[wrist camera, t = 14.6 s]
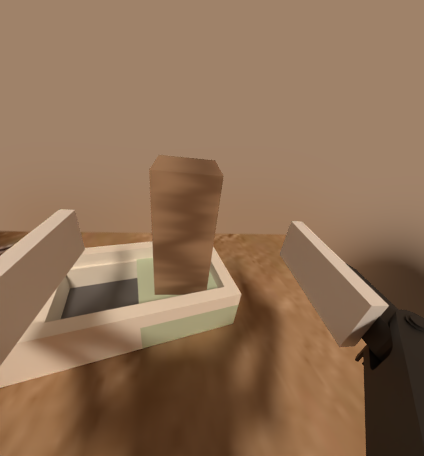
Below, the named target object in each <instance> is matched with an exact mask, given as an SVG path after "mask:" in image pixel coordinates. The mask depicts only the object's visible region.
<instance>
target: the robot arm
mask: <svg viewBox="0 0 424 456" xmlns="http://www.w3.org/2000/svg"><path fill="white" fill-rule="evenodd" d="M84 250H85V248H84V244H83V240H82V236H81V232H80V228H79V224H78V221H77V217H76V213H75V210H64V209H59V210H58V211H57V212H56V213H54V214H53V215H52V216H50V217H49V218H48V219H47V220H46V221H44V222H43V223H41V224H40V225H39V226H38V227H36V228H35V229H34V230H33V231H31V232H30V233H29V234H27V235H26V236H25V237H24V238H22V239H21V240H20V241H18V242H17V243H16V244H15V245H13V246H12V247H11V248H9V249H8V250H7V251H6V252H4V253H3V254H2V255H1V256H0V366H1V364H2V363H3V362H4V360H5V359H6V357H7V356H8V355H9V353H10V352H11V351H12V349H13V348H14V346H15V345H16V344H17V342H18V341H19V340H20V338H21V337H22V335H23V334H24V333H25V331H26V330H27V329H28V327H29V326H30V324H31V323H32V322H33V320H34V319H35V318H36V316H37V315H38V313H39V312H40V311H41V309H42V308H43V307H44V305H45V304H46V302H47V301H48V300H49V298H50V297H51V296H52V294H53V293H54V291H55V290H56V289H57V287H58V286H59V285H60V283H61V282H62V280H63V279H64V278H65V276H66V275H67V274H68V272H69V271H70V269H71V268H72V267H73V265H74V264H75V263H76V261H77V260H78V258H79V257H80V256H81V254H82V253H83V252H84ZM280 256H281V257H282V259H283V260H284V262H285V263H286V265H287V266H288V268H289V269H290V271H291V273H292V274H293V276H294V277H295V279H296V280H297V282H298V283H299V285H300V286H301V288H302V290H303V291H304V293H305V294H306V296H307V297H308V299H309V300H310V302H311V303H312V305H313V307H314V308H315V310H316V311H317V313H318V314H319V316H320V317H321V319H322V320H323V322H324V324H325V325H326V327H327V328H328V330H329V331H330V333H331V334H332V336H333V337H334V339H335V341H336V342H337V344H338V345H339V347H349V346H355V345H356V344H357V343H358V342H359V341H360V339H361V338H362V339H363V340H364V341H365V343H366V344H367V345H366V346H365V347H364V348H363V349H362V351H361V352H360V353H359V354H358V355H357V356H356V359H355V360H356V361H357V362H358V361H359V360H360V359H361V358H362V357H364V362H363V363H362V364H363V365H364V391H365V428H366V456H424V318H422V317H421V316H419V315H417V314H415V313H413V312H410V311H407V310H398V309H397V308H396V307H395V306H394V305H393V304H392V303H391V302H390V301H389V300H388V299H387V298H386V297H385V296H383V295H382V294H381V293H380V292H379V291H378V290H377V289H376V288H375V287H374V286H372V285H371V283H370V282H369V281H368V280H366V279H364V277H363V276H362V275H361V274H360V273H359V272H358V271H357V270H356V269H353V268H352V267H351V266H349V265H348V264H346V263H344V262H343V261H342V260H341V259H340V258H339V257H338V256H337V255H336V254H335V253H334V252H333V251H332V250H331V249H330V248H329V247H328V246H327V245H326V244H325V243H324V242H323V241H322V240H320V239H319V238H318V237H317V236H316V235H315V234H314V233H313V232H312V231H311V230H310V229H309V228H308V227H307V226H306V225H305V224H304V223H303V222H297V221H291V224H290V227H289V229H288V232H287V235H286V238H285V241H284V243H283V246H282V249H281V252H280Z"/></svg>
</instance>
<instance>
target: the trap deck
mask: <svg viewBox="0 0 424 456" xmlns="http://www.w3.org/2000/svg"><path fill="white" fill-rule="evenodd" d="M240 297H241V293H240V291H239V289H238V288H237V286H236V284H235V282H234V281H233V279H232V277H231V276H230V274H229V272H228V271H227V269H226V267H225V266H224V264H223V262H222V260H221V259H220V257H219V255H218V254H217V252H216V250H215V249H214V247H213V251H212V258H211V265H210V271H209V278H208V285H207V290H206V291H201V292H196V293H191V294H186V295H155V292H154V268H153V244H152V242H142V243H132V244H122V245H112V246H101V247H91V248H85V250H84V252H83V253H82V254H81V256H80V257H79V258H78V260H77V261H76V263H75V264H74V265H73V267H72V268H71V269H70V271H69V272H68V274H67V275H66V276H65V278H64V279H63V280H62V282H61V283H60V285H59V286H58V287H57V289H56V290H55V291H54V293H53V294H52V296H51V297H50V298H49V300H48V301H47V302H46V304H45V305H44V307H43V308H42V309H41V311H40V312H39V313H38V315H37V316H36V318H35V319H34V320H33V322H32V323H31V324H30V326H29V327H28V329H27V330H26V331H25V333H24V334H23V335H22V337H21V338H20V340H19V341H18V342H17V344H16V345H15V346H14V348H13V349H12V351H11V352H10V353H9V355H8V356H7V357H6V359H5V360H4V362H3V363H2V364H1V366H0V388H1V387H5V386H9V385H12V384H16V383H20V382H23V381H27V380H30V379H34V378H38V377H41V376H45V375H49V374H52V373H56V372H59V371H63V370H67V369H70V368H74V367H78V366H81V365H85V364H88V363H92V362H96V361H99V360H103V359H107V358H110V357H114V356H117V355H121V354H125V353H128V352H132V351H136V350H139V349H143V348H146V347H150V346H154V345H157V344H161V343H165V342H168V341H172V340H175V339H179V338H183V337H186V336H190V335H194V334H197V333H201V332H204V331H208V330H212V329H215V328H219V327H223V326H226V325H230V324H233V322H234V319H235V315H236V311H237V308H238V304H239V300H240Z"/></svg>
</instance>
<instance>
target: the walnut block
mask: <svg viewBox="0 0 424 456" xmlns="http://www.w3.org/2000/svg"><path fill="white" fill-rule="evenodd" d="M149 170H150V171H149V172H150V173H149V174H150V197H151V221H152V244H153V268H154V292H155V295H186V294H191V293H196V292H201V291H206V290H207V285H208V278H209V271H210V265H211V258H212V251H213V244H214V237H215V230H216V224H217V217H218V209H219V202H220V196H221V189H222V182H223V174H222V173H221V171H220V169H219V167H218V165H217V163H216V162H215V160H214V161H213V160H204V159H194V158H184V157H174V156H164V155H159V156H158V157H157V159H156V160H155V162H154V163H153V165H152V167H151V168H150V169H149Z"/></svg>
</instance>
